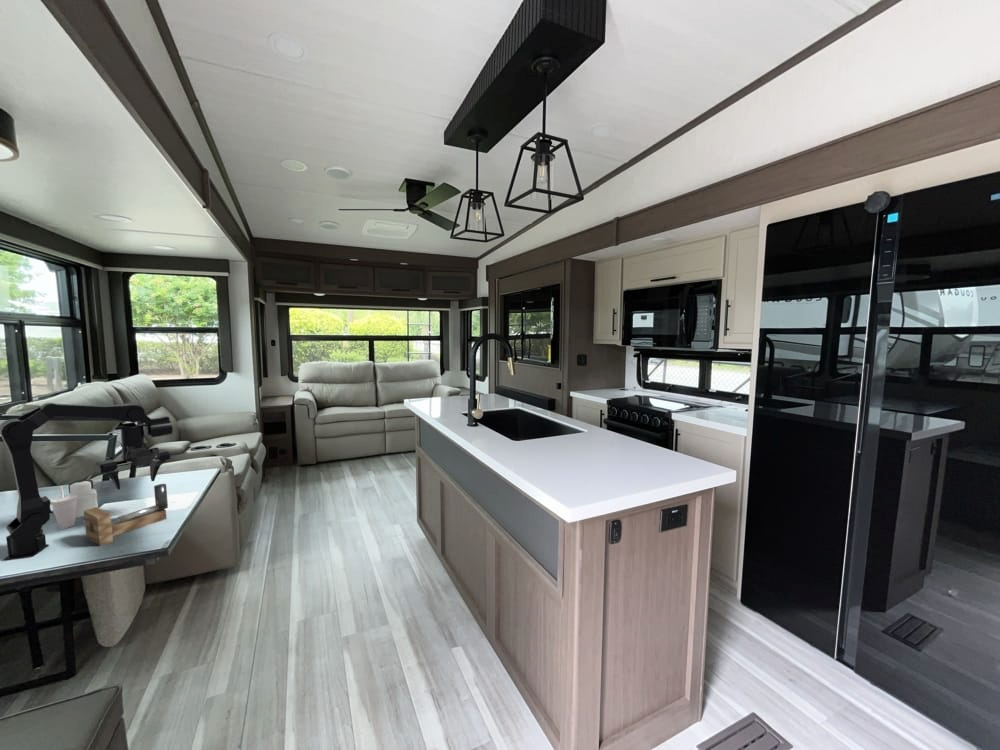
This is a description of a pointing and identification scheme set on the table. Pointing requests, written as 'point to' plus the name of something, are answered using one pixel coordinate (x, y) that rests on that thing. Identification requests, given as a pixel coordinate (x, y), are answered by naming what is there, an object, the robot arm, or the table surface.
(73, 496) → the smoothie
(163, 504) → the door handle
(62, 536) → the table surface
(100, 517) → the wooden mallet
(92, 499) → the medicine bottle
